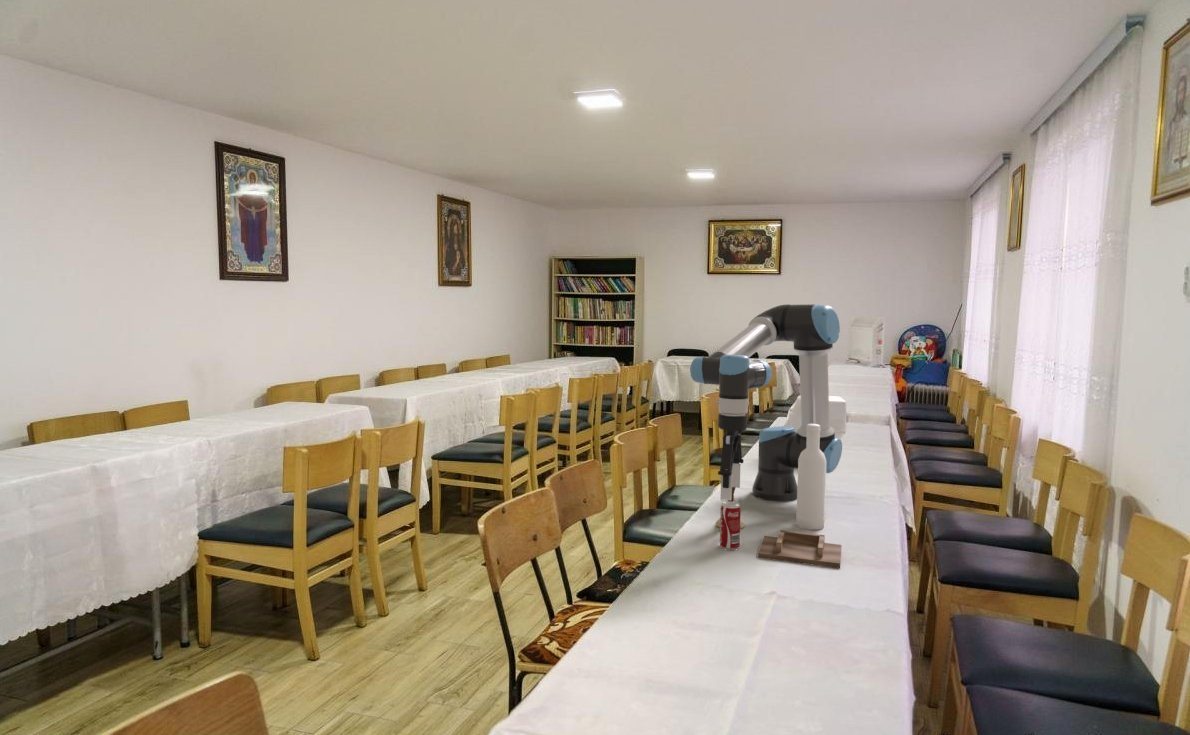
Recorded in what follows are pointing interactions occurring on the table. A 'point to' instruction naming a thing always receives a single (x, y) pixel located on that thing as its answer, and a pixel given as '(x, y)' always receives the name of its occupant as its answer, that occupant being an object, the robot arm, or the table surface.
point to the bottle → (811, 482)
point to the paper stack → (835, 415)
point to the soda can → (730, 525)
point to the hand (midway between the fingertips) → (730, 493)
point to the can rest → (801, 549)
